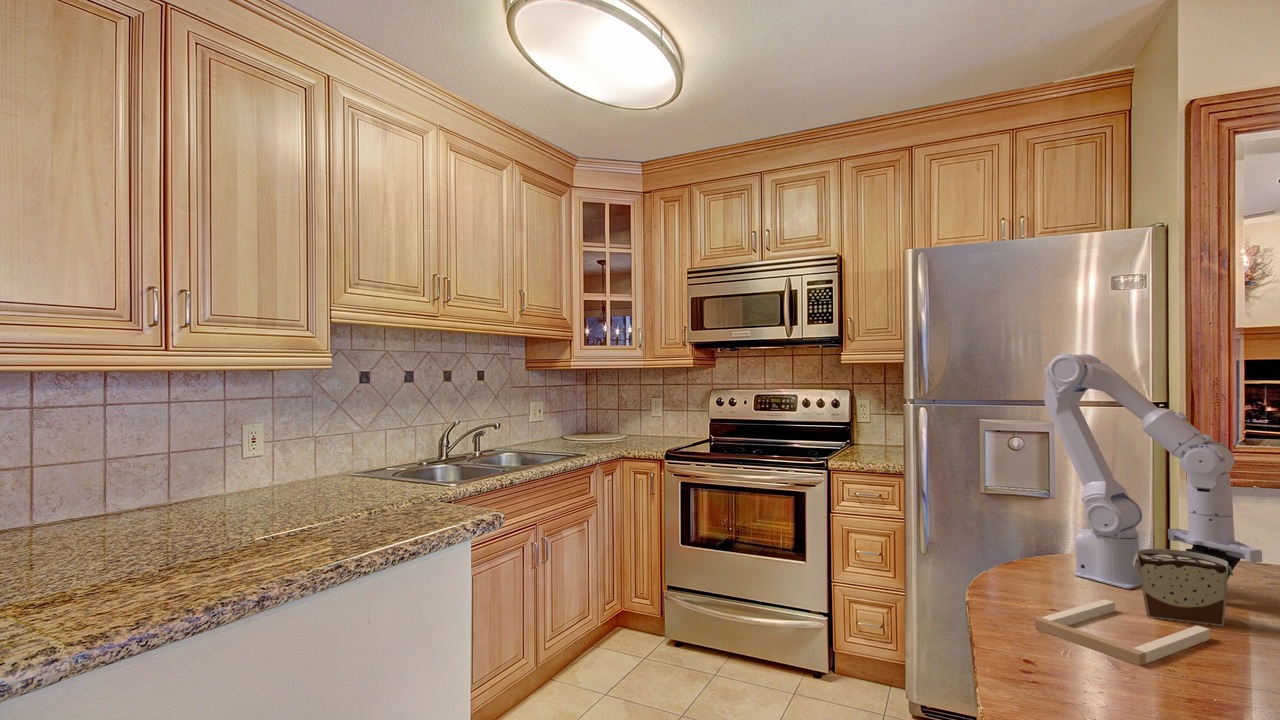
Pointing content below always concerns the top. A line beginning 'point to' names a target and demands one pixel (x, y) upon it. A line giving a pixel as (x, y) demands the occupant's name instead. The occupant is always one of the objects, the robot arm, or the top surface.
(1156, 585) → the food container
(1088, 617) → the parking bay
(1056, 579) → the top surface
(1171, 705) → the top surface
